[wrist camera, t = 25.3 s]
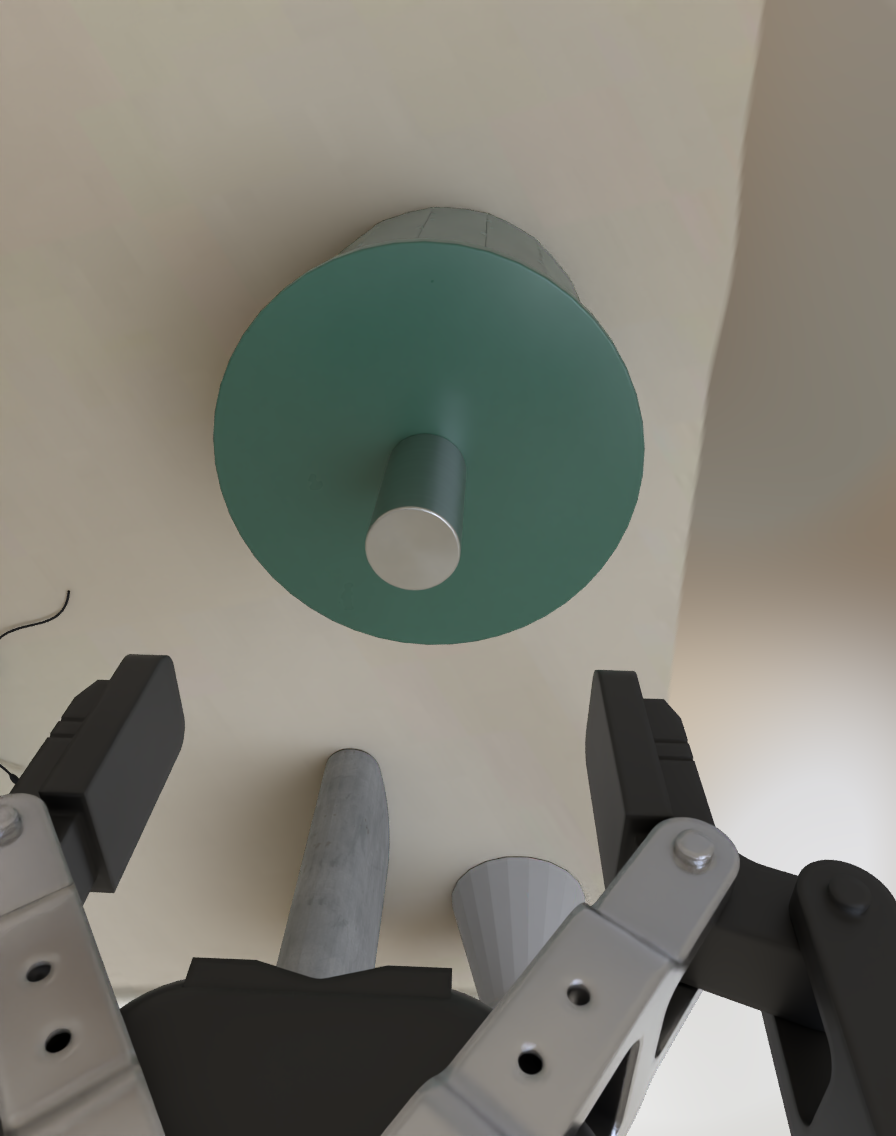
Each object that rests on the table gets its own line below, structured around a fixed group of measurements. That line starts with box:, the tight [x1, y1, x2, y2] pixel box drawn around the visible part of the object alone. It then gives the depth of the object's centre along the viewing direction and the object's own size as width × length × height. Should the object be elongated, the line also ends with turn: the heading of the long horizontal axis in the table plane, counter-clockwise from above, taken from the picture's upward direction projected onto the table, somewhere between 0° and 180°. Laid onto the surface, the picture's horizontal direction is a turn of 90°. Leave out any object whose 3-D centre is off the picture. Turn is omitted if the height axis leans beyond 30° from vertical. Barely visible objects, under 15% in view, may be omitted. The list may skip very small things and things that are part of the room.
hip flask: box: [276, 749, 389, 979], centre depth 42 cm, size 16×4×20 cm, turn 177°
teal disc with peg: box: [213, 238, 645, 645], centre depth 23 cm, size 13×13×6 cm
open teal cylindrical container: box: [337, 207, 580, 301], centre depth 30 cm, size 12×12×12 cm
